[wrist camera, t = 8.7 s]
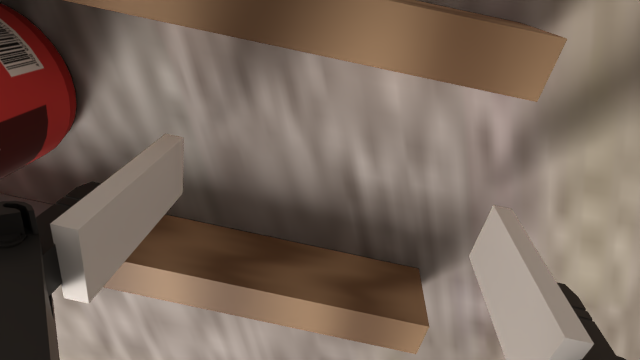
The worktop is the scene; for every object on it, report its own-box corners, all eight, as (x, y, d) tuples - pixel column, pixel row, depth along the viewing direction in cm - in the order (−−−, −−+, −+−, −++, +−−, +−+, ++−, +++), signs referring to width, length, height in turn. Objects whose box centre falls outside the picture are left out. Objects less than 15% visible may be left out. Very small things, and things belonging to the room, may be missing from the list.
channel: (520, 22, 15) (567, 39, 12) (407, 294, 22) (416, 354, 19) (47, -79, 15) (-49, -94, 12) (88, 225, 22) (37, 273, 19)
